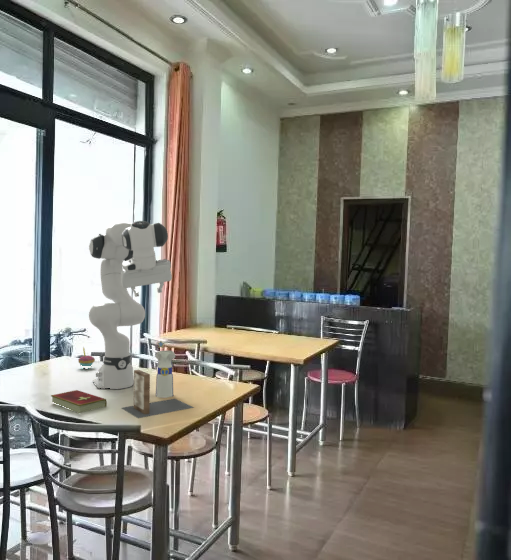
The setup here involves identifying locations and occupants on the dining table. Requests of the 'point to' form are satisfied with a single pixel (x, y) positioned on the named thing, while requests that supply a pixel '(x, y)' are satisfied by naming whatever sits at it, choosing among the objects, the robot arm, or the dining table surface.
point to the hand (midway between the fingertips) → (148, 294)
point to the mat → (159, 408)
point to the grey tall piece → (164, 373)
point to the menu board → (141, 391)
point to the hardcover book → (79, 401)
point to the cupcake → (86, 360)
